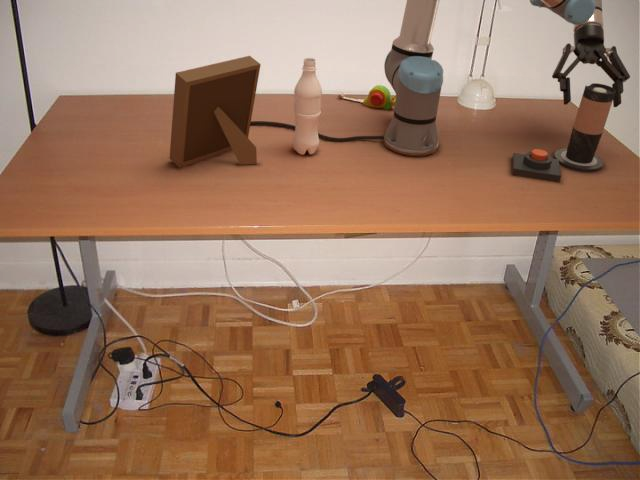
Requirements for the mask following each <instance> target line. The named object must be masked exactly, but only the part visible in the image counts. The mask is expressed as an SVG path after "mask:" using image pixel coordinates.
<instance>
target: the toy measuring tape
mask: <svg viewBox="0 0 640 480" xmlns="http://www.w3.org/2000/svg"><path fill="white" fill-rule="evenodd" d="M338 98H339V99H340V100H341V99H344V100H349V101H353V102H359V103H361V104H362V105H363V106H366V107H371V108H375V109H382V110H386V111H390V110H391V109H392V108H393V107H395V100H396V95H393V96H392V97H391V91H390V90H389V88H388V87H386V86H385V85H382V84H378V85H377V84H376V85H375V86H374V87H372V88H371V89H370V91H368V95H367V97H366V98H365V99H364V98H362V99H361V98H352V97H347V96H346V94H345V93H344V92H341V93H340V94H339V95H338Z"/></svg>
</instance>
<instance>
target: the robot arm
mask: <svg viewBox="0 0 640 480" xmlns="http://www.w3.org/2000/svg"><path fill="white" fill-rule="evenodd" d="M440 1H441V0H406V3H405V7H404V12H403V17H402V24H401V27H400V32H399V35H398V37H395V38H394V39H393V40H392V43H391V49H390V51H388V53H387V55H386V57H385V60H384V66H383V67H384V73H385V77H386V80H387V81H388V83H389V84H390V86H391V88H392V89H393V91H394V93H395V97H396V98H395V99H396V100H395V106H394V109H393V116H392V117H391V118H392V119H391V121H390V122H389V124H388V127H387V129H386V131H385V133H384V135H358V136H357V135H356V136H349V137H333V136H328V135H324V134H322V133H319V132H318V137H319V139H323V140H325V141H333V142H350V141H357V140H383V145H384V147H385V148H386V149H388V150H389V151H391V152H393V153H396V154H398V155H401V156H406V157H427V156H431V155H433V154H434V153H436V152H437V151H438V149H439V143H440V140H439V133H438V129H437V122H436V121H437V115H438V109H439V105H440V98H441V92H442V88H443V87H442V86H443V83H444V68H443V66H442V64H440V63H439V62H438V61H437V60H435V59H433V54H434V50H435V47H434V46H433V44H432V43H431V40H432V38H431V37H432V35H433V30H434V26H435V21H436V18H437V14H438V10H439V9H438V8H439V4H440ZM529 3H530V5H532V6H534V7H539V8H540V9H541V8H545V9H548V10H549V11H550V12H552V13H553V14H555V15H557V16H558V17H560V18H562V19H563V20H565V21H566V22H567V23H568V24H572V27H573V28H572V29H573V45H572V44H571V43H569V42H568V43H566V45H564V47H563V48H562V55H561V57H560V59H559V61H558V62H557V65H556V67H555V69H554V71H553V72H552V75H551V78H552V79H557V82H558V83H559V90H560V92H562V95H563V98H562V99H563V105H568V104H569V103H570V102H572V96H571V77H570V76H569V77H568V75H569V74H570V73H571V72H572V71H573V70H574V69H575V68H576V67H577V66H578V64H579V63H582V64H583V65H584V64H585V65H587V64H589V65H595V64H596V66H597V67H600V68H601V70H602V71H604V72H605V74H606V75H607V76H608V77H609V78H610V79H611V80H612V82H613V83H611V87H612V88H614V89H615V95H614V98H613V101H612V104H613V108H617V107H618V106H620V105H621V104H622V94H623V93H624V83H626V82H627V81H628V80H629V79H630V78H631V75H630V73H629V72H628V69H627V68H626V67H625V64H624V62H623V61H622V60H621V57H620V55H619V54H618V51H617V47H616V46H615V45H612V47H606V46H605V30H604V15H603V0H529ZM572 53H573V54H574V55H575V57H576V58H575V59H574V60H573V61H572V63H571V64H570V65H569V66H568V67H567V68H566V70H565V71H564V72H562V71H563V68H564V66H565V64H566V63H567V61H568V59H569V56H570V55H571V54H572ZM251 125H252V126H253V125H261V126H263V125H264V126H267V125H268V126H275V127H276V126H277V127H283V128H288V129H292V130H295V127H296V125H293V124H289V123H285V122H277V121H266V120H251V124H250V126H251Z"/></svg>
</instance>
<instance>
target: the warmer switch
mask: <svg viewBox="0 0 640 480" xmlns="http://www.w3.org/2000/svg"><path fill="white" fill-rule="evenodd" d="M531 153H532V150H530V151H527V152H525V153H518V152H513V153H512V157H511V176H515V177H521V178H528V179H535V180H541V181H548V182H552V183H553V182H554V183H560V181H561V178H562V174H561V173H562V172H561V165H560V164H559V160H558V159H554V158H553V157H552V156H550V155H549V154H547V158H546V160H545V161H537V160H534V159H532V158H531Z"/></svg>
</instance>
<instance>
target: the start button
mask: <svg viewBox="0 0 640 480" xmlns="http://www.w3.org/2000/svg"><path fill="white" fill-rule="evenodd" d="M531 151H532V153H531V158H532V159H534V160H537V161H545V160H546V158H547V155H548V152H547V151H545V150H543V149H540V148H535V149H532V150H531Z"/></svg>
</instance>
